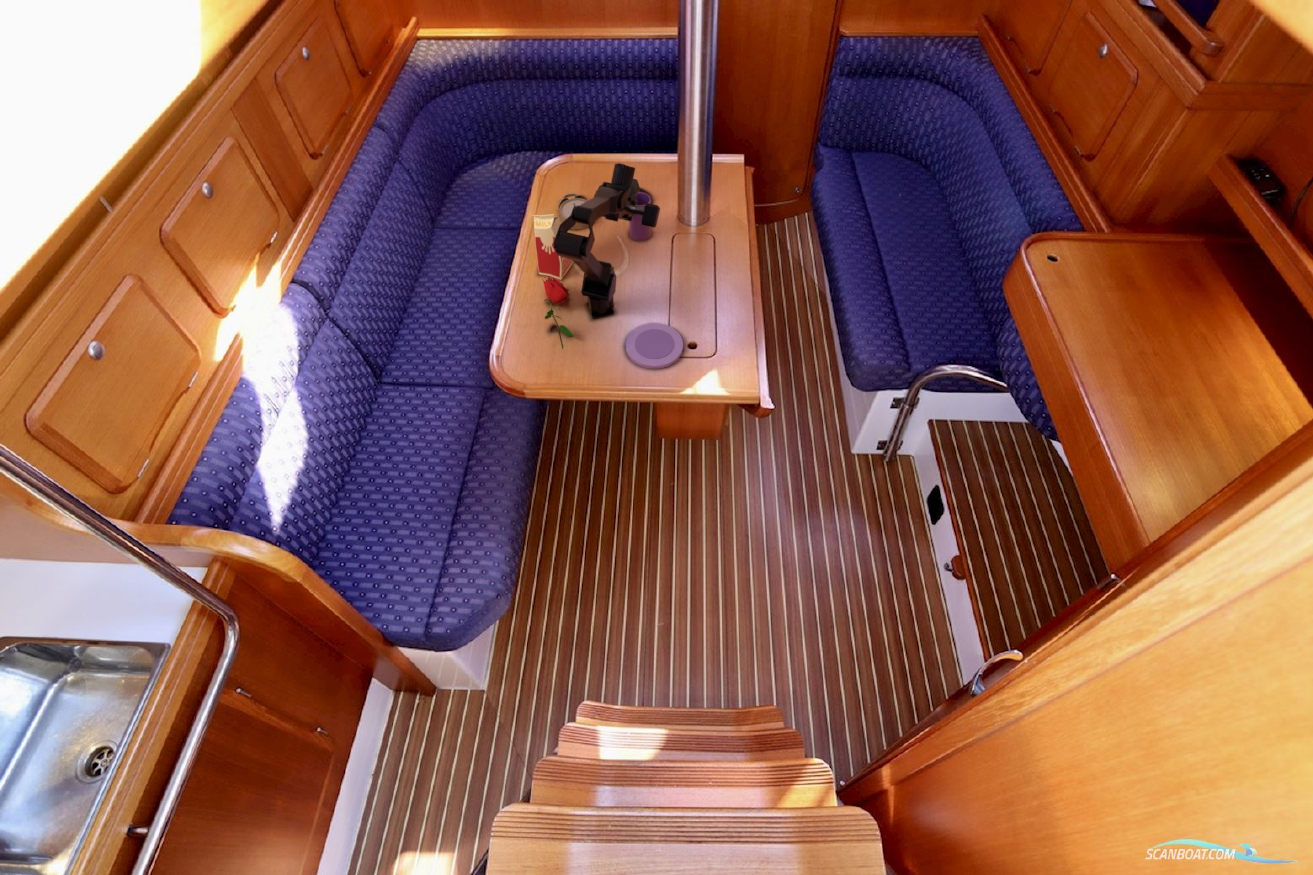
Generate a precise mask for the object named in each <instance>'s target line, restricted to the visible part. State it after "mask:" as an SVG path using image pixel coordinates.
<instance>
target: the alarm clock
mask: <svg viewBox="0 0 1313 875" xmlns="http://www.w3.org/2000/svg"><path fill="white" fill-rule="evenodd" d="M570 197H572V198H570ZM587 201H589V199H588V197H587V196H586V195H585V194H583V193H567V194H565V195H563V196H562V197H561V198H560V199H559V200H558V201H557V209H558V212H559V218H560V221H561V223H562V222H564V221H565V220H566V219H567V218H568V217H569V216H570V215H571V213H572V210H573V208H574V206H578V205H581V204H583V203H585V202H587ZM585 228H589V226H588V225H586V224H581V223H577V222H576V224H575V225H574V226H573V227H572V228H571V229H570V230H583V229H585Z"/></svg>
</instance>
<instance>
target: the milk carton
mask: <svg viewBox="0 0 1313 875" xmlns="http://www.w3.org/2000/svg"><path fill="white" fill-rule="evenodd" d="M530 216H531V217H532V218H533V228H534V230H533V231H534V245H535V253H536V255H535V256H536V263H537V271H538V275H541V276H547V277H550V278H553V277H554V279H556V280H559V281H562V279H563V278H564V277H565V275H566V274H567V273H568V271H569V270H570V269H571V267H572V265H573V264H574V262H573V260H571V259H568V258H564V257H561V256H559V255H557V254H556V252H555V249H554V240H555V237H556V234H557V232H558V229H559V226H560V224H561V223H562V222H561V221H560V215H555V213H549V214H543V215H542V214H530Z"/></svg>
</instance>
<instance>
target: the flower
mask: <svg viewBox="0 0 1313 875" xmlns="http://www.w3.org/2000/svg"><path fill="white" fill-rule="evenodd" d="M544 279H545V280H544ZM542 282H543V286H544V291H545V295H546V297H547V298H546V299H544V300H543V301H544V302H546V301H548V302H547V304H549V307H550V308H549V310H548V311H547V312H546V315H545V317H544V319H545V320H548V319H551V318H553V320H554V323H555V324H553V325H552V326H551V327H550V328H549V330H551V329H552V328H553V327H556V328H557V331H558V336H559V340H560V344H561V345H560V346H561V348H562V350H564V344H563V339H562V335H561V332H562V333H564V334H565V335H566V336H568V337H570V338H574V337H575V335H574V334H573V333H572V331H571V330H570V329H569V328H568V327H567V326H565V325H564V324H560V325H559V324H558V321H557V320H556V318H558V319H560V321H562V322H564V320H563V319H562V318H561V316H558V315H554V310H553V308H552V307H553V306H556V307H557V308H558V310H559V311H561V309H560V307H559V305H561V304H563V303H564V302H566V301H568V300H572V298H571V297H570V292H569V290H570V289H569V288H566V287H565V286H564V284H563V282H561V280H560V279H557V278H554V277H550V276H547V278H546V277H545V276H544V278H543V279H542ZM552 305H553V306H552ZM555 317H556V318H555Z"/></svg>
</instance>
